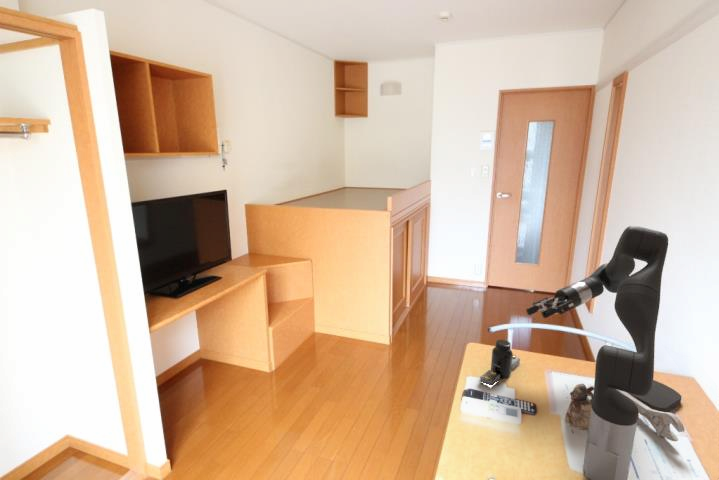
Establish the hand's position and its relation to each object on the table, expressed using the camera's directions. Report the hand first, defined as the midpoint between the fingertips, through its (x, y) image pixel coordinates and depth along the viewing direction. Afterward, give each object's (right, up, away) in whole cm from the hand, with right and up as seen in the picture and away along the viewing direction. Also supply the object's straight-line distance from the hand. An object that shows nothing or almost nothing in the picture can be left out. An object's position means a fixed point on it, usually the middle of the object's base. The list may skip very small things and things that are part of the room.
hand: (534, 313), depth 134 cm
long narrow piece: (-10, -22, +6) cm, 25 cm away
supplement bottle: (-10, -22, +6) cm, 25 cm away
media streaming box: (+32, -25, -8) cm, 42 cm away
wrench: (+23, -27, -16) cm, 39 cm away
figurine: (+5, -28, -19) cm, 34 cm away
